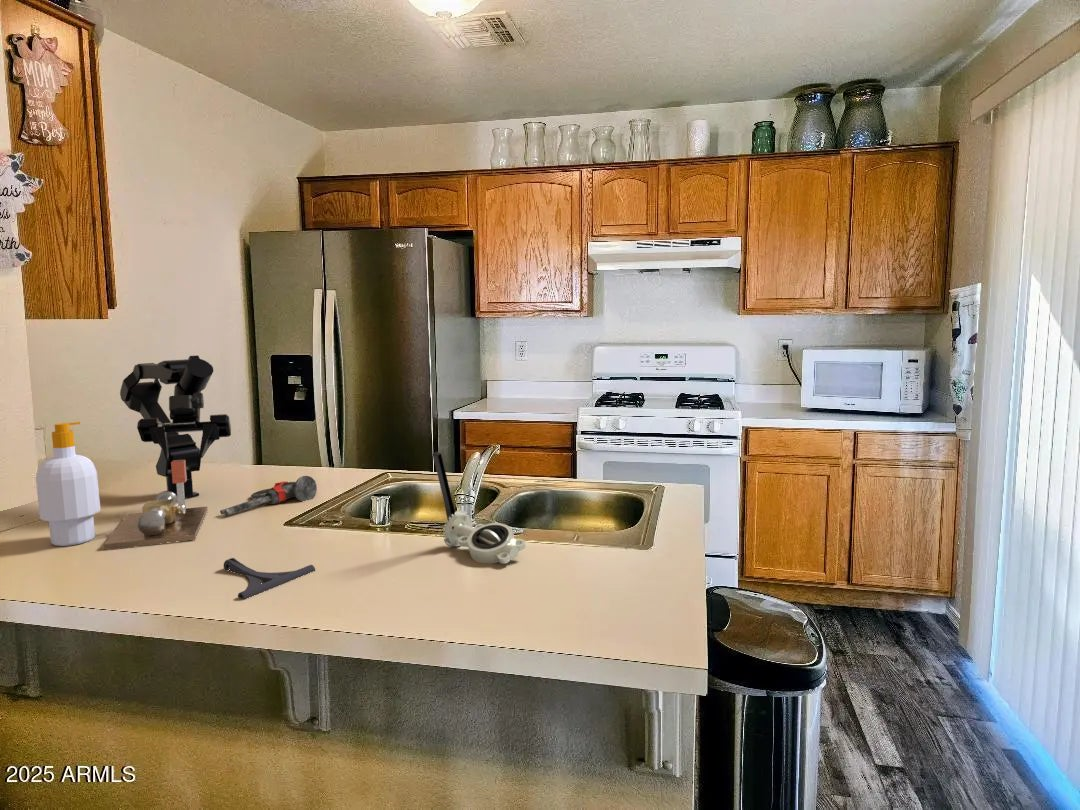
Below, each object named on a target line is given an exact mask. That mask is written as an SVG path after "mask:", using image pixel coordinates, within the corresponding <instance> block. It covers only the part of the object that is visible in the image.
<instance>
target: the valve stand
mask: <svg viewBox="0 0 1080 810" xmlns="http://www.w3.org/2000/svg"><path fill="white" fill-rule="evenodd" d="M141 507H142V511H141V512H131V513H128V515H127V516H125V518H124V519H123V520H122V522H121V523H120V524H119V525H118V527H117V528H116V529H115V530H114V531H113V532H112V534H111V535H110V536H109V537H108V539H106V541H105V542H104V543H103V547H104V548H103V549H104V551H109V550H108V549H111V550H117V548H120V549H125V548H124V547H130V548H135V547H134V546H139V547H145V546H144V545H148V546H152V545H151V544H158V545H161V544H160V543H167V542H176V541H186V542H188V541H187V540H195V539H196V540H197V538H196V536H197V537H198V535H199V533H200V531H199V530H201V528H202V526H203V524H204V521H205V519H206V517H205V516H207V514H208V512H207V511H209V508H208V506H199V507H198V506H197V507H188V508H187V507H186V514H179V513H178V497H177V496H176V494H174V493H173V492H171V491H167V490H163V491H160V492H159V493H158V494H156V495H155V497H154V499H153V500H146V502H145V503H144V504H143V505H142V506H141ZM206 513H207V514H206ZM204 518H205V519H204ZM203 520H204V521H203ZM202 523H203V524H202ZM201 525H202V526H201ZM200 527H201V528H200ZM198 532H199V533H198ZM197 534H198V535H197ZM196 540H195V541H196ZM167 544H168V543H167Z"/></svg>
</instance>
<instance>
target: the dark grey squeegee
mask: <svg viewBox="0 0 1080 810" xmlns="http://www.w3.org/2000/svg"><path fill="white" fill-rule="evenodd" d="M229 567H230V568H229ZM224 569H225V571H226V570H229V569H230V570H229V571H228V572H230V571H232V572H231V573H233V572H235V573H234V574H237V573H238V575H240V574H242V575H241V576H243V575H245V576H244V577H245V578H247V580H248V579H249V580H248V581H249V584H248V587H246V589H245V590H243V591H240V592H238V594H237V598H238V597H239V598H238V599H241V598H242V600H243V599H244V600H248V599H250V598H253V597H255V596H257V595H260V594H262V593H264V591H265V592H267V591H269V589H270V590H272V589H274V587H275V588H277V587H279V585H280V586H282V585H285V584H286V583H289V582H292V581H293V580H296V578H297V579H299V578H302V577H304V576H306V575H309V574H311V573H314V572H316V567H315V566H314V565H313V564H309V565H307V566H304V567H302V568H299V569H296V570H291V571H280V572H279V571H278V572H265V571H258V570H254V569H253V568H250V567H249V566H246V565H245V564H244V563H242V562H240V561H239V560H237V559H236V558H235V557H230V558H228V559H226V560H225V561H224V562H223V570H224ZM313 571H314V572H313ZM310 572H311V573H310ZM308 573H309V574H308ZM303 575H304V576H303ZM301 576H302V577H301ZM298 577H299V578H298ZM291 580H292V581H291ZM263 582H264V583H263ZM261 583H262V584H261ZM259 593H260V594H259ZM254 595H255V596H254ZM242 596H243V597H242ZM252 596H253V597H252ZM240 597H241V598H240ZM249 597H250V598H249ZM247 598H248V599H247Z"/></svg>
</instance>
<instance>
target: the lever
mask: <svg viewBox="0 0 1080 810" xmlns="http://www.w3.org/2000/svg"><path fill="white" fill-rule="evenodd" d="M171 468H172V481H173V483H176V485H177V497H178V505H177V507H178V513H179V514H186V508H187V505H186V498H185V494H184V483H185V482H186V481H187V474H186V462H185V460H173V461H172V462H171Z"/></svg>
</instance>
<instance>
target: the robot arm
mask: <svg viewBox="0 0 1080 810" xmlns="http://www.w3.org/2000/svg"><path fill="white" fill-rule="evenodd" d="M213 373H214V367H213V365H212V364H210V363H209V361H207V360H204V359H201V358H200V356H199V355H189V357H188V359H172V360H171V359H170V360H161V361H160V362H158V363H154V362H146V363H144V362H143V363H137V364H135V365H134V367H133V369H132V371H131V372H130V373H129V374H128V375H127V376H126V377H125V378H124V379H123V380H122V384H121V387H120V391H119V394H120V395H119V396H120V400H122V402H123V403H124V404H125V405H126V407H127V408H128V409H129V410H132V411H134V412H136V413H139V414H140V415H141V417H142V418H140V419H139V420H138V421H137V425H136V429H137V431H138V433H139V434H138V435H139V437H140V440H141V442H143V443H153V444H154V445H159V447H160V448H161V449H160V453H159V457H158V460H157V462H156V465H155V468H156V469H155V470H156V474H157V475H159V476H160V477H165V478H166V491H171V492H173V493H174V494H176V496H177V485H176V483H173V481H172V468H171V462H172V461H173V460H185V462H186V474H187V481H186V482H185V483H184V494H185V499H188V498H189V499H190V498H193V497H197V496H200V493H199V492H196V491H194V488H193V475H192V473H193V472H199V471H200V469H201V462H202V458H203V457H204V456H205V454H206V453H207V451H208V450H209V448H210V447H211V446H212V444H214V442H215V441H218V440H220V438H228V437H230V436H231V435H232V426H231V425H232V424H231V421H230V415H228V414H227V413H223V414H221V413H220V414H210V415H209V421H201V409H204V408H205V407H204V405H205V404H204V403H205V402H204V394H203V392H202V391H203V390H205V389H206V387H207V385H208V384H209V381H210V379H211V377H212V374H213ZM148 379H149V380H153V381H144V382H141V380H148ZM162 384H164V385H175V386H174V390H173V395H169V397H168V411H169V416H167V413H166V412H165V411H164V409H163V407H162V406H161V405H160V402H159V399H160V394H161V391H162V388H163V387H162ZM190 432H191V433H192V432H193V433H194V432H202V435H201V441H200V446H199V447H198V446H197V442H196V441H195V440H193V438H192V436H191V434H189V433H190ZM180 433H183V434H180Z"/></svg>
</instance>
